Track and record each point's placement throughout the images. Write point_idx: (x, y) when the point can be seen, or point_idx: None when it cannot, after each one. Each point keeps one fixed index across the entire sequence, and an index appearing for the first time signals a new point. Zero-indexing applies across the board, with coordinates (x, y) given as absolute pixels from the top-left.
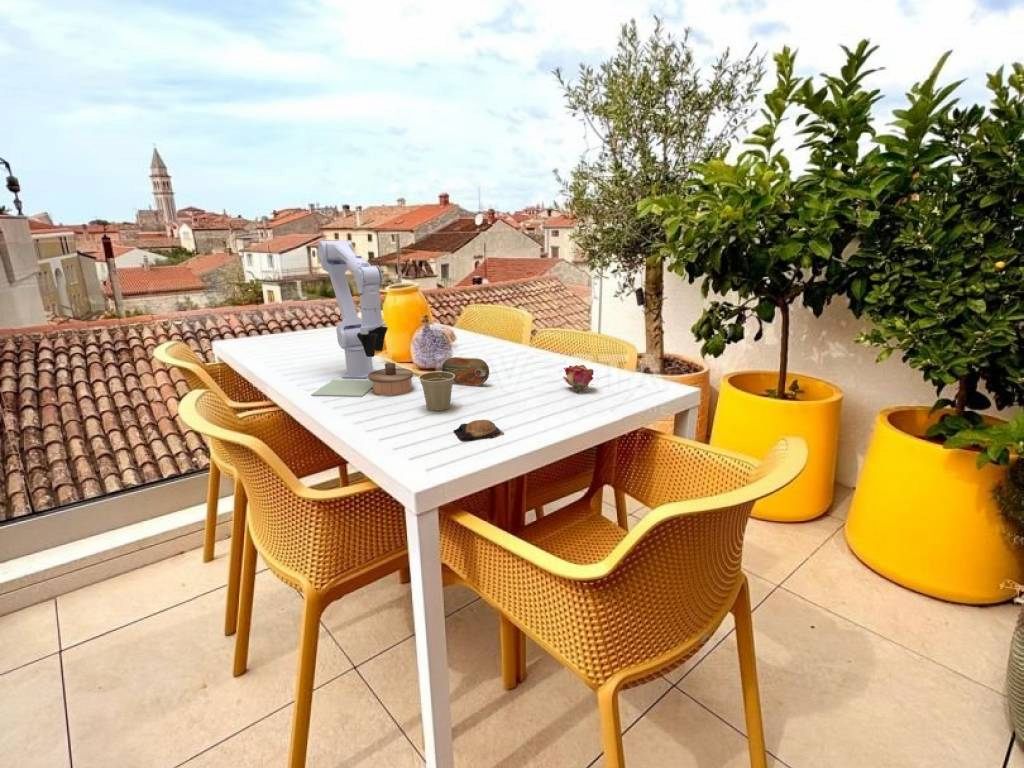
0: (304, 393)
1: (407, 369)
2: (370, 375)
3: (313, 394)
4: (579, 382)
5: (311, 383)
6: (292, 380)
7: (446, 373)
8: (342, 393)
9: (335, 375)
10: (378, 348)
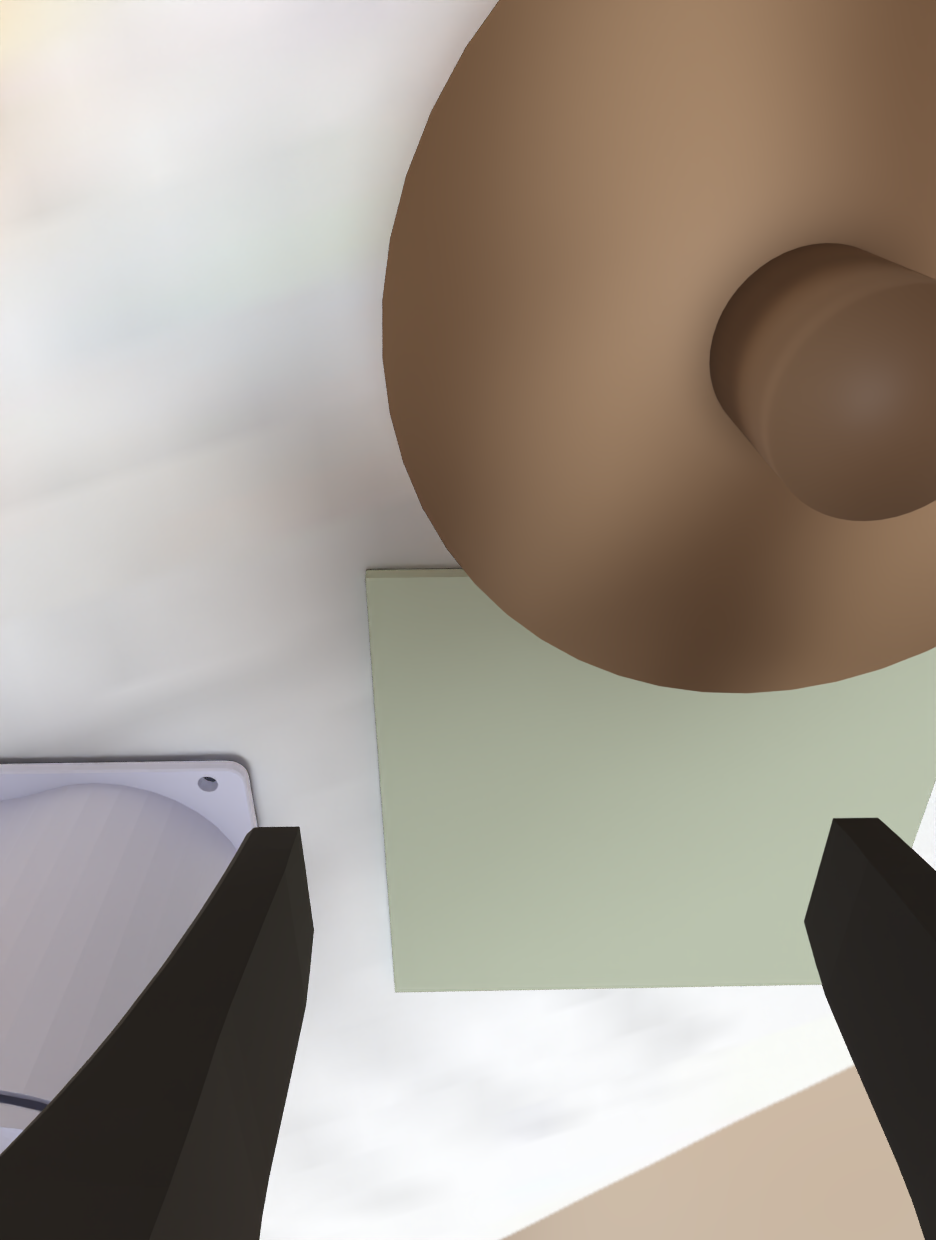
0: (774, 1031)
1: (469, 75)
2: (867, 643)
3: None
4: None
5: (480, 1081)
6: (407, 1194)
7: None
8: (884, 779)
9: None
10: (295, 926)
